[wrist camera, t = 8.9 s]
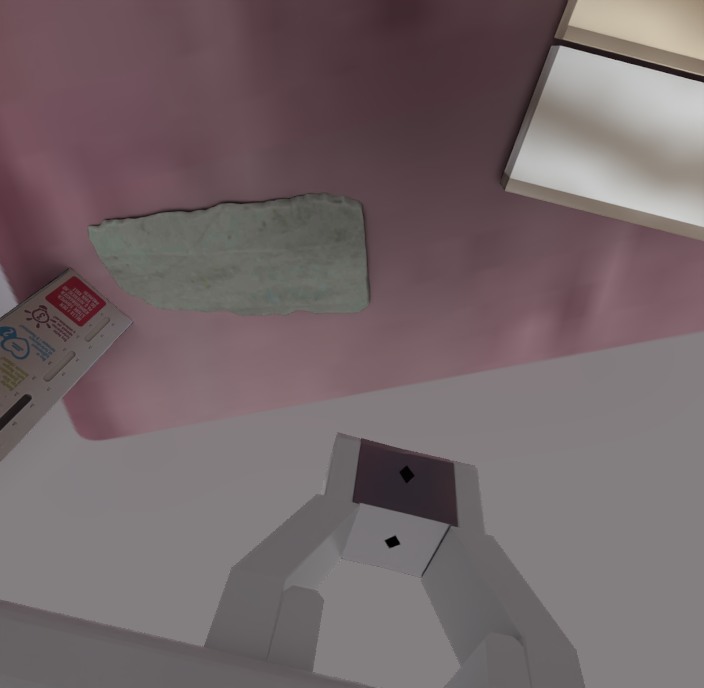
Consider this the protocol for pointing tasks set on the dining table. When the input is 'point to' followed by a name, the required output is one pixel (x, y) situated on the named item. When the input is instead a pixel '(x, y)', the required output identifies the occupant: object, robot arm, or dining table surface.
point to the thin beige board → (640, 30)
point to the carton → (50, 350)
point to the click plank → (613, 142)
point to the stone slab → (243, 257)
